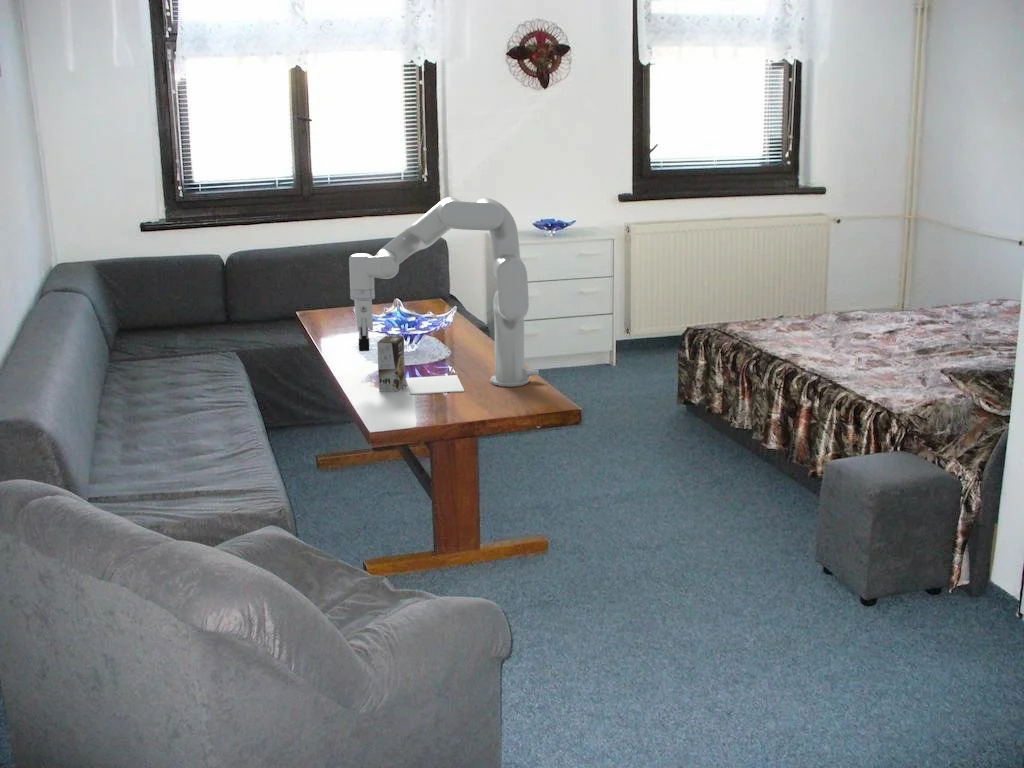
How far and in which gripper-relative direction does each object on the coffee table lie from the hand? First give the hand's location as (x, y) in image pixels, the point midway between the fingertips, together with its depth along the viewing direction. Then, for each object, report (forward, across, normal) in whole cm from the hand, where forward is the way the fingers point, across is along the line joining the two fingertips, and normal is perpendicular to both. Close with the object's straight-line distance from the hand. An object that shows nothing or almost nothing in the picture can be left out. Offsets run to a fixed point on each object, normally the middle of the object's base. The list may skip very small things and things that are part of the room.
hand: (364, 350), depth 350 cm
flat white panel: (+12, 0, -22) cm, 25 cm away
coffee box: (+13, 0, -9) cm, 16 cm away
